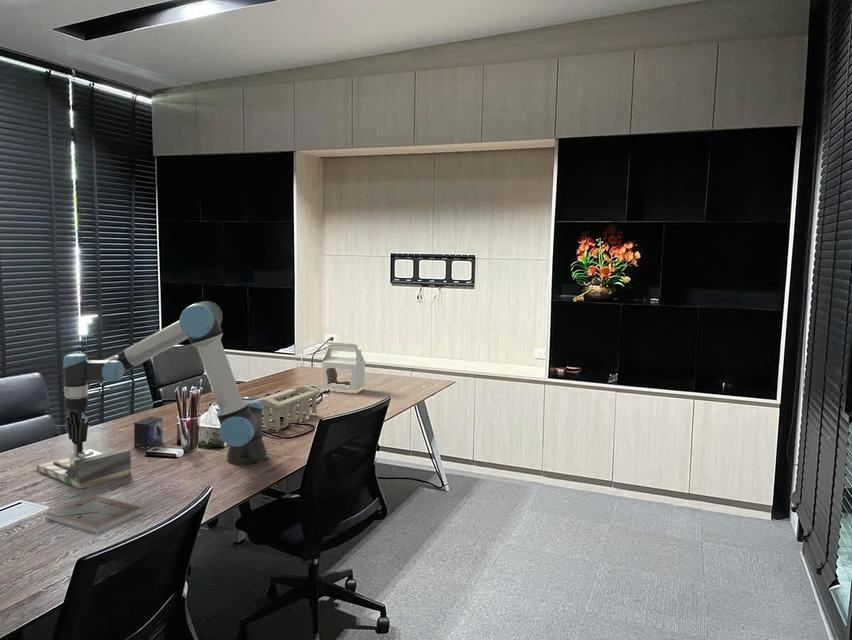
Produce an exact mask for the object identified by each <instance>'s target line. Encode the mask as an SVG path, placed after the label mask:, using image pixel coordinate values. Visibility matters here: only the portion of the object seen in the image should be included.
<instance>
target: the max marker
mask: <svg viewBox="0 0 852 640" xmlns="http://www.w3.org/2000/svg"><path fill="white" fill-rule="evenodd" d="M68 477H71V478H73V479H75V473H74V466H73V467H69V468H68Z"/></svg>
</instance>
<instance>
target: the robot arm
mask: <svg viewBox="0 0 852 640" xmlns="http://www.w3.org/2000/svg"><path fill="white" fill-rule="evenodd" d="M222 321H223V312H222V310H221V308H220V306H219V305H217V304H216V303H215V302H213V301H208V300H205V301H201V302H196V303H193V304H190V305H188V306H187V307H186V308H185V309H183V310H182V312H181V314H180V316H179V320H177V321H175V322H174V323H173V322H172V323H171V324H170V325H168V326H165V327H164V328H162V329H160V330H159V331H156V332H155V333H153V334H151V335H149V336H147V337H146V338H144V339H142V340H140V341H138V342H136V343H134V344H132V345H130V346H129V347H127V348H125V349H122V351H120V352H118V353H116V354H114V355H112V356H109V357H107V358H105V359H89V358H88V355H87V354H86V353H70V354H65V356H64V357H63V364H62V365H63V366H62V369H63V393H64V394H63V395H64V397H65V398H64V408H65V409H67V410H68V411H67V412H65V413H63V415H64V418H65V422H66V428H67V434H68V439H69V440H71V442H72V454H73V453H77V452H81V451H84V447H83V446H84V445H83V443H85V442H87V437H88V431H89V422H90V419H91V418H90V417H89V416H88V417H87V416H86V410H85V409H86V408H87V407H88V406H89V382H90V381H91V382H109V383H110V382H118V381H121V380H122V378H123V376H124V373H126V372H128V371H130V370H132V369H133V368H135V367H137V366H139V365H140V364H142V363H144V362H146V361H148V360H150V359H152V358H154V357H156V356H157V355H159V354H161V353H163V352H164V351H167V350H169V349H171V348H172V347H175V346H176V345H178V344H181V343H182V342H184V341H185V340H187V339H188V340H189V342H190V345H191V346H194V347H195V348H196V349H197V351H198V354H199V357H200V359H201V362H202V363H201V364H202V366H203V368H204V371H205V373H206V376H207V379H208V381H209V385H210V386H211V389H212V392H213V395H214V398H215V402H216V403H217V406H218V411H217V413H216V415H217V419H218V421H219V425H220V427H219V437H220V438H221V440H222V442H224V443H225V444H226V445H229V447H228V451H227V453H226V461H227V462H228V463H231V464H234V465H241V464H246V465H251V464H250V463H255V464H257V463H256V462H259V461H262V460H264V459H265V458H266V457H267V456H268V455H267V449H266V447H265V444H264V439H263V411H264V407H263V406H262V403H261V402H259V401H253V400H244V399H243V398H242V395H241V393H240V390H239V388H238V385H237V382H236V379H235V375H234V374H233V371H232V368H231V364H230V362H229V359H228V356H227V354H226V351H225V348H224V346H223V343H222V340H221V339H222V337H223V335H224V333H223V330H222V328H221V324H222ZM266 459H267V458H266ZM266 459H265V460H266ZM265 460H264V461H265ZM262 462H263V461H262ZM259 463H260V462H259Z"/></svg>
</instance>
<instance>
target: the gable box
mask: <svg viewBox="0 0 852 640" xmlns="http://www.w3.org/2000/svg"><path fill="white" fill-rule="evenodd" d="M332 351H334V352H335V351H336V352H347V353H349V352H350V353H355V355H356V356H355V357H356V358H353V357H351V358H350V357H339V356H332ZM365 366H366V361H365V359H364V356H363V355H362V350H361V349H358V345H357V344H356V343H353V344H352V343H342V342H331V343H330V346H329V347H326V353H325V356H324V358H323V359H322V361H321V389H322V388H332V389H340V390H358V389H360V388H361V387H363V386H364V387H365V377H366V374H365V373H366V367H365ZM336 369H337V370H341V371H343V370H344V371H347V370H348V371H350V372H351V377H350V380H348V381H347V380H346V381H338V372H337V370H336ZM330 383H336V384H345V385H350V387H349V388H345V387H342V386H332V387H330V386H328V384H330Z"/></svg>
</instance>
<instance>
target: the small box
mask: <svg viewBox="0 0 852 640" xmlns="http://www.w3.org/2000/svg"><path fill="white" fill-rule="evenodd" d="M133 424H134V425H133V426H134V427H133V430H134V431H133V433H134V434H133V437H134V438H133V440H134V441H133V444H134V445H133V447H134V448H138V447H144V448H143V449H148V448H147V447H149V448H151V447H153V446H152V445H154V444H156V443H158V444H159V442H160V443H162V442H163V417H157V416H148V417H145V418H142V419H140V420H138V421H135V422H133ZM161 441H162V442H161ZM156 445H157V444H156ZM150 446H151V447H150ZM154 446H155V445H154Z"/></svg>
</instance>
